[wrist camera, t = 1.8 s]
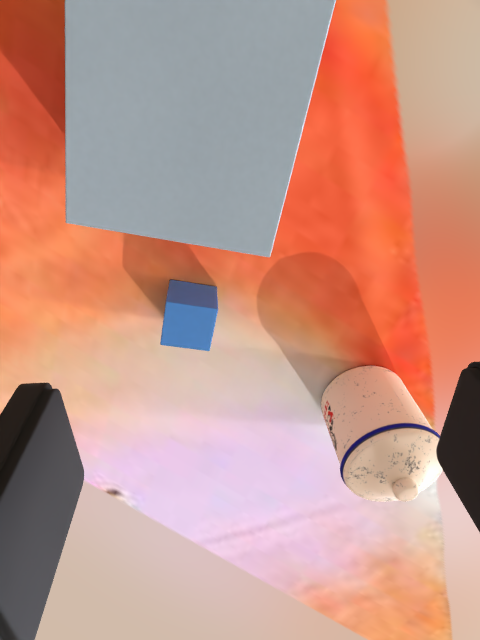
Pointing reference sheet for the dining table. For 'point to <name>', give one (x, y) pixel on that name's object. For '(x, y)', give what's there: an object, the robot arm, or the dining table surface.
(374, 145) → the dining table surface
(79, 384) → the dining table surface
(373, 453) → the teacup with lid
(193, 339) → the blue wooden cube
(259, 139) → the grey drawer cabinet
